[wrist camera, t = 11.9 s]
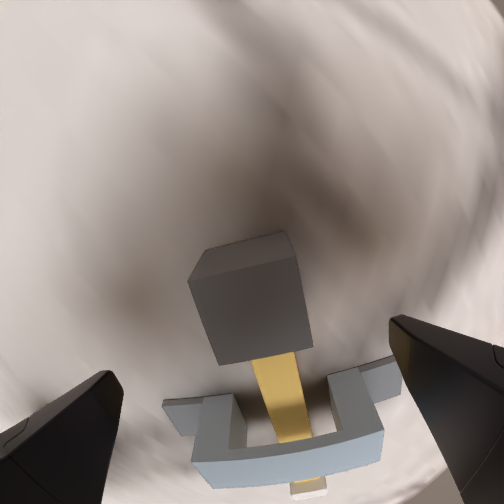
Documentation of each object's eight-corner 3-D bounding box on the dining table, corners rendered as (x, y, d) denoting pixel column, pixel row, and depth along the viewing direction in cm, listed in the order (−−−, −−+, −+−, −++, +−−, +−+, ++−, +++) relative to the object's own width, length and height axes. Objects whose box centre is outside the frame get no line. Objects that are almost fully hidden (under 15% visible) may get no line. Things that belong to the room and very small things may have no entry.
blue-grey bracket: (394, 412, 18) (418, 462, 13) (195, 449, 19) (186, 502, 14) (400, 353, 16) (435, 409, 11) (163, 400, 17) (142, 460, 12)
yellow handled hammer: (328, 467, 20) (335, 501, 16) (285, 475, 20) (288, 510, 17) (284, 230, 14) (295, 256, 10) (205, 249, 14) (187, 280, 10)
